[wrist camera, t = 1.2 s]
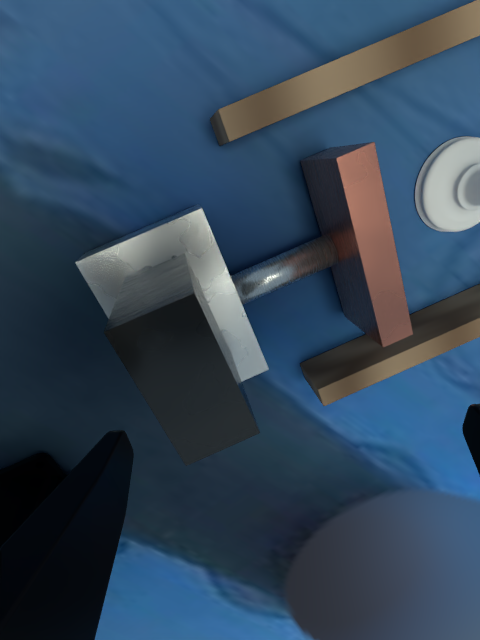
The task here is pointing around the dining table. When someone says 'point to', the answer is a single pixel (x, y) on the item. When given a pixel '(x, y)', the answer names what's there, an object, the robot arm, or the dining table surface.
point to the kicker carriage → (240, 299)
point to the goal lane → (321, 85)
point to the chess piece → (450, 186)
